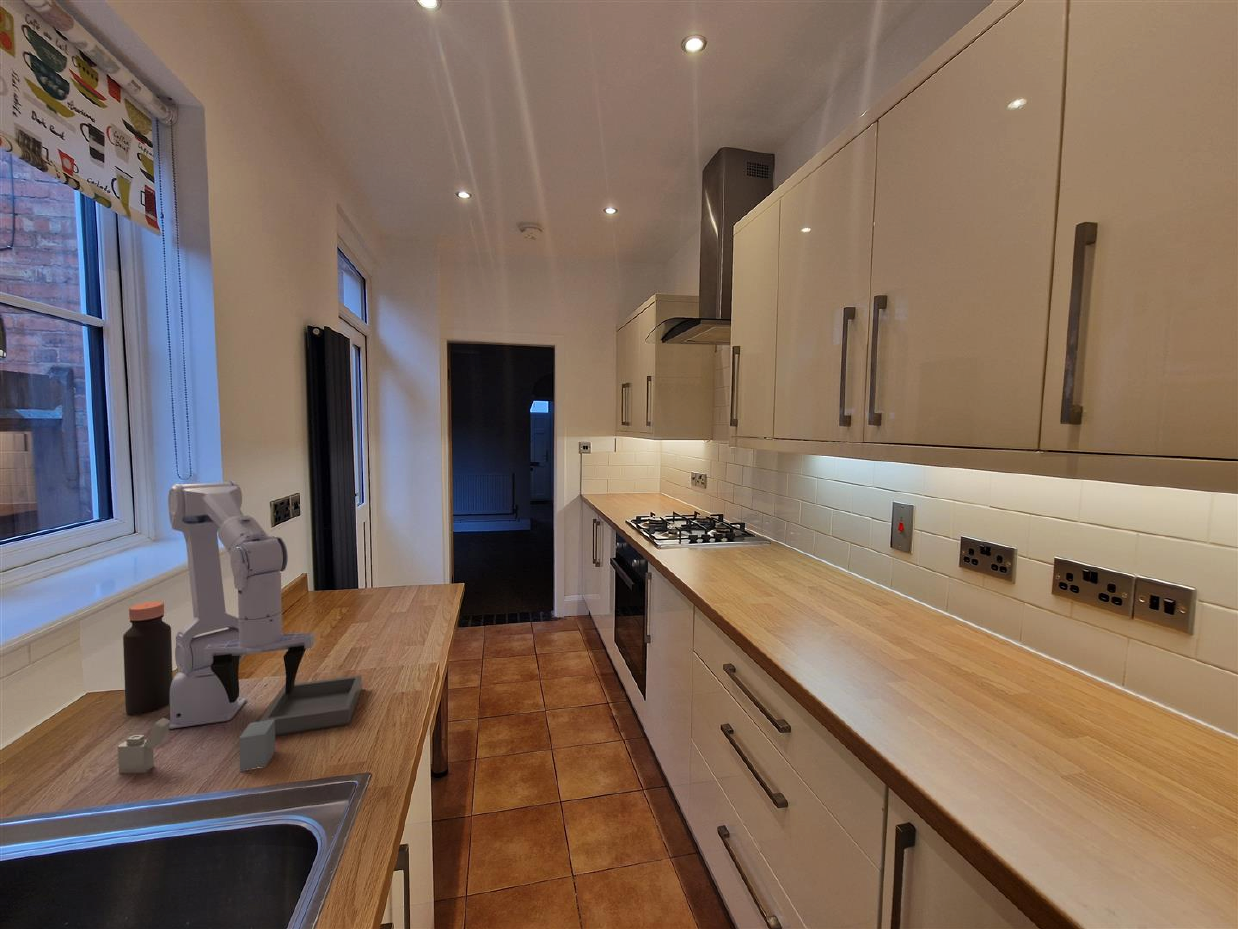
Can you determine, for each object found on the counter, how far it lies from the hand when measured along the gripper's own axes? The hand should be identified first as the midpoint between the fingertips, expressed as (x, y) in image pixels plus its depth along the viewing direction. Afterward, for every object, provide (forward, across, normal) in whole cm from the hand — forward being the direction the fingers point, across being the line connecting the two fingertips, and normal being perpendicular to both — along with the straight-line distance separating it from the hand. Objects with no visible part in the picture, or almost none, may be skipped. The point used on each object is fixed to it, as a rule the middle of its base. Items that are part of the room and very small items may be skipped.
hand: (262, 695), depth 82 cm
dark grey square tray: (+10, +5, +13) cm, 17 cm away
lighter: (+11, -16, +3) cm, 20 cm away
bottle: (+11, -26, +26) cm, 38 cm away
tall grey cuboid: (+10, -1, -1) cm, 11 cm away
